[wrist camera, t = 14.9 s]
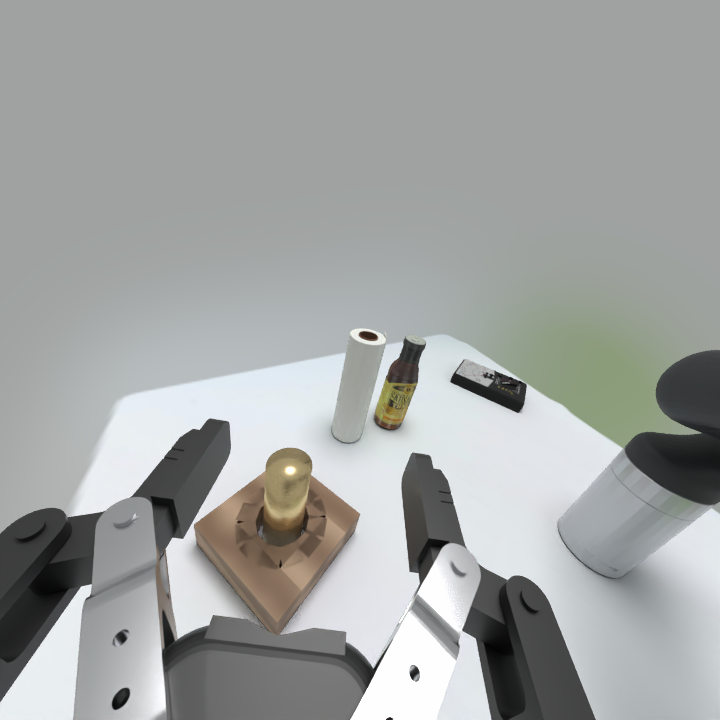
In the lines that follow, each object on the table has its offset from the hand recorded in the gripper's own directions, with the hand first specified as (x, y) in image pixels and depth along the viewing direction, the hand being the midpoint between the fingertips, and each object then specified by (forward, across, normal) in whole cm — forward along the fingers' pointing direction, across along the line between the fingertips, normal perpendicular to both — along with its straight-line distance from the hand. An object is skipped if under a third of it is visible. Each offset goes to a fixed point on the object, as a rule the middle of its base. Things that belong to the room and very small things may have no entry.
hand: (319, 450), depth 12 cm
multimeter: (+61, -43, +32) cm, 81 cm away
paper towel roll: (+33, -4, +30) cm, 45 cm away
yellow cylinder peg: (+11, +4, +30) cm, 32 cm away
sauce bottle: (+38, -12, +31) cm, 50 cm away
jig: (+11, +4, +30) cm, 32 cm away
